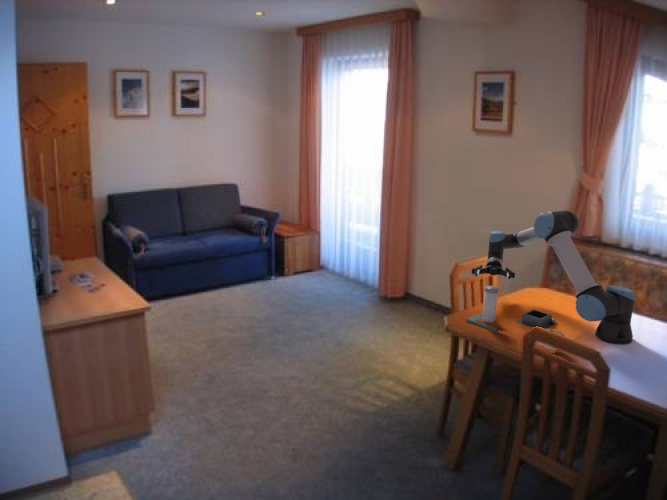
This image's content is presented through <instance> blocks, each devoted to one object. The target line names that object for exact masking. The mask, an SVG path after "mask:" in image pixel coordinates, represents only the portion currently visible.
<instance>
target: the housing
mask: <svg viewBox="0 0 667 500" xmlns="http://www.w3.org/2000/svg"><path fill="white" fill-rule="evenodd" d="M514 322H515V323H517V324H521V325H524V326H527V327H530V328H533V327H536V326H538V327H542V328H544V329H550V328H552V327H553V326H556V325H557V324H558V322H557V318H554V317H553V314H551V313H547V312H544V311H540V310H537V309H530V310H528V311H525V312H523V313H522V316H521V318H519V319H517V320H516V321H514Z"/></svg>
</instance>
